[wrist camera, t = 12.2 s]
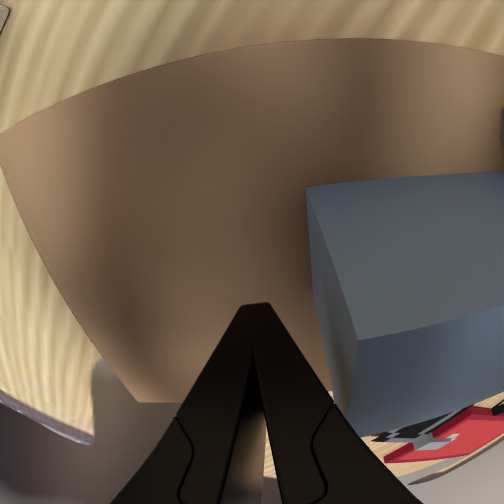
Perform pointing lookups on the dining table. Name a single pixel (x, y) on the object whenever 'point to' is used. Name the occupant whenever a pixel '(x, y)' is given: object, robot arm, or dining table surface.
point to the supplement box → (3, 15)
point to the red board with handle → (446, 435)
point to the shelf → (231, 184)
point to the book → (409, 294)
